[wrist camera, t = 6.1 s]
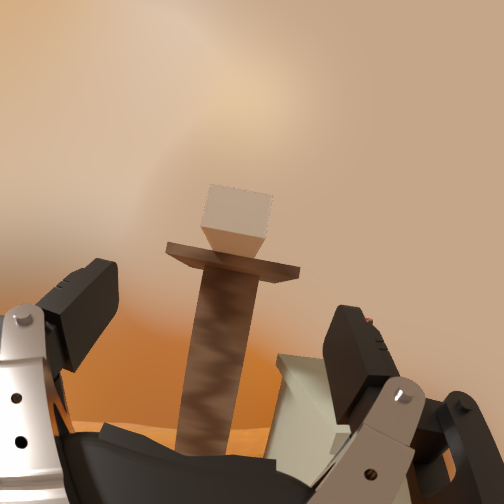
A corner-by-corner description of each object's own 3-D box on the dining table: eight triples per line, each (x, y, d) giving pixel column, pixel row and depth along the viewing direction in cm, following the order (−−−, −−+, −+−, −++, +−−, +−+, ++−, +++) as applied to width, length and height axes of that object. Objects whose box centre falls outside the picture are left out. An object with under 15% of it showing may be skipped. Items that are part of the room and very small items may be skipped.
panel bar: (200, 226, 16) (210, 183, 16) (222, 267, 44) (225, 250, 44) (265, 238, 16) (273, 195, 17) (246, 271, 44) (249, 255, 44)
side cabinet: (258, 602, 11) (336, 432, 14) (247, 485, 33) (277, 353, 36) (367, 589, 11) (469, 420, 14) (317, 488, 34) (355, 362, 37)
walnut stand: (136, 514, 22) (167, 241, 26) (162, 455, 37) (192, 260, 42) (238, 534, 22) (300, 267, 26) (236, 469, 38) (275, 276, 42)
